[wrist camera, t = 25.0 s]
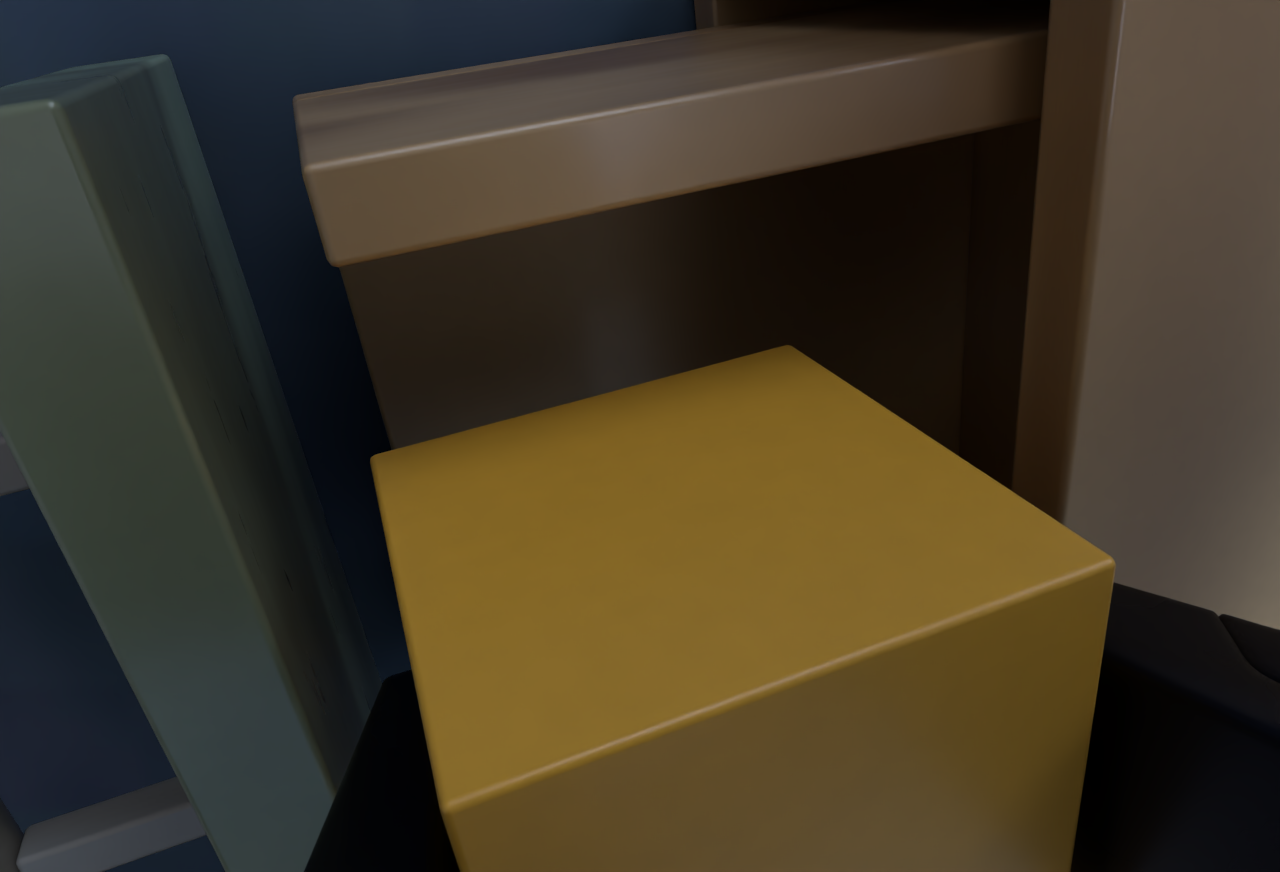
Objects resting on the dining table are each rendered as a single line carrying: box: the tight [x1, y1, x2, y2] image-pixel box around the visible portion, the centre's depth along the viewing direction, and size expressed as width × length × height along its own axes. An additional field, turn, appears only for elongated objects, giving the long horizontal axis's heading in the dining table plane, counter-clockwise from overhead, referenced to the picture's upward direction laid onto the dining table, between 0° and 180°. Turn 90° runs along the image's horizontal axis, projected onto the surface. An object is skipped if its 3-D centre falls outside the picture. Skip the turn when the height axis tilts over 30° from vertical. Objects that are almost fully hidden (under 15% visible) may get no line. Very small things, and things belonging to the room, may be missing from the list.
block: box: [370, 345, 1116, 872], centre depth 8 cm, size 4×4×4 cm
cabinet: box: [694, 0, 1280, 630], centre depth 15 cm, size 15×13×9 cm
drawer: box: [0, 0, 1050, 872], centre depth 12 cm, size 18×11×7 cm, turn 98°
